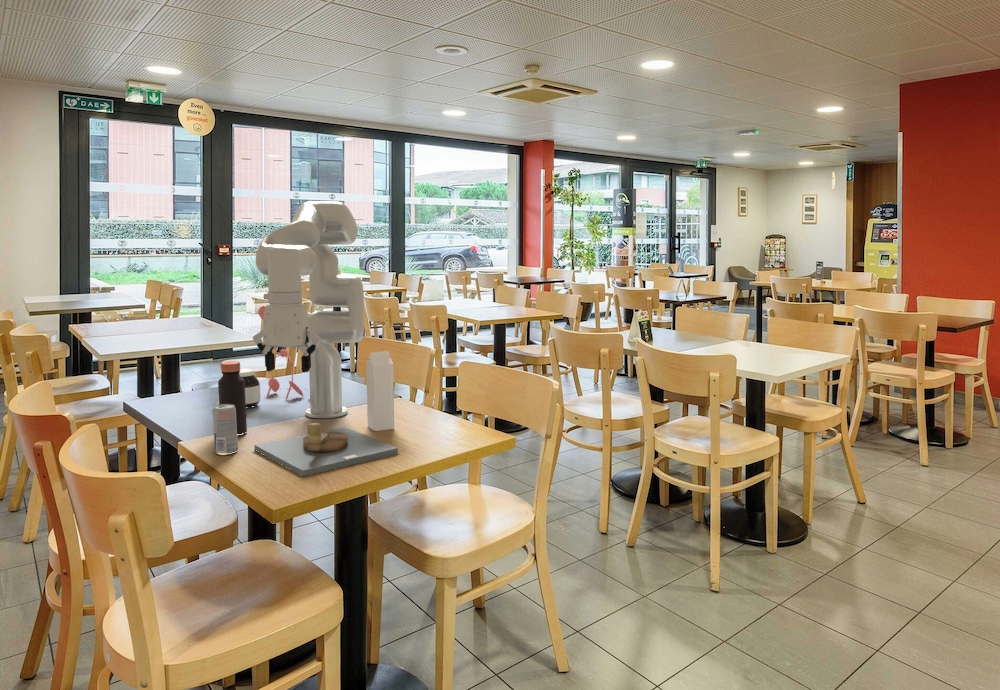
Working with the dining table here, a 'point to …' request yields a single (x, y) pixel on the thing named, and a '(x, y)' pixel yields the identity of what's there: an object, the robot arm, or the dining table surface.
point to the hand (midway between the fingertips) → (288, 370)
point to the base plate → (313, 462)
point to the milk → (380, 391)
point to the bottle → (233, 392)
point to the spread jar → (250, 387)
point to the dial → (323, 440)
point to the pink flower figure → (272, 381)
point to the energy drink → (225, 428)
